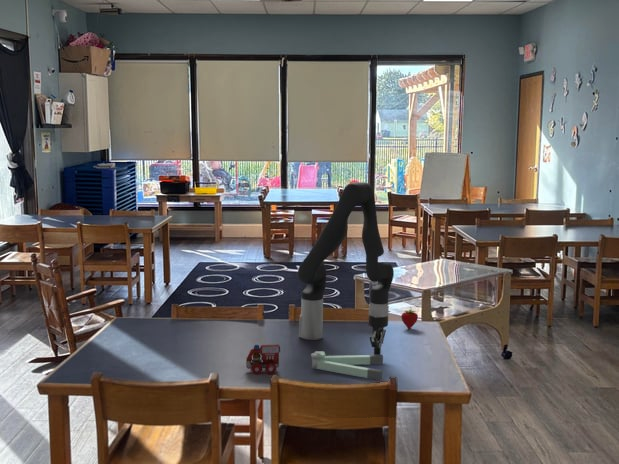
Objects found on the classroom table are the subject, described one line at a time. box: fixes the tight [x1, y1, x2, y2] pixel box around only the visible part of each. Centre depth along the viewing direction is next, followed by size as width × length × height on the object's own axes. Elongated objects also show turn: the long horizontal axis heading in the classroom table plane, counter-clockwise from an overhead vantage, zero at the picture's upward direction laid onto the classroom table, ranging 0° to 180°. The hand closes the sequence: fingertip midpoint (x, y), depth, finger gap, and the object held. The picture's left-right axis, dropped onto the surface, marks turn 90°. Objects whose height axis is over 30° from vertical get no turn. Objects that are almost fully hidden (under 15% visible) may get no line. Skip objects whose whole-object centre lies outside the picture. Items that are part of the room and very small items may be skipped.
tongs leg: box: [311, 357, 383, 381], centre depth 260 cm, size 27×3×4 cm, turn 66°
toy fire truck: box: [245, 344, 281, 375], centre depth 260 cm, size 7×12×10 cm, turn 94°
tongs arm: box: [310, 350, 384, 366], centre depth 267 cm, size 28×5×5 cm, turn 96°
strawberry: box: [401, 306, 419, 330], centre depth 314 cm, size 6×8×10 cm
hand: (377, 356), depth 274 cm, fingers closed
